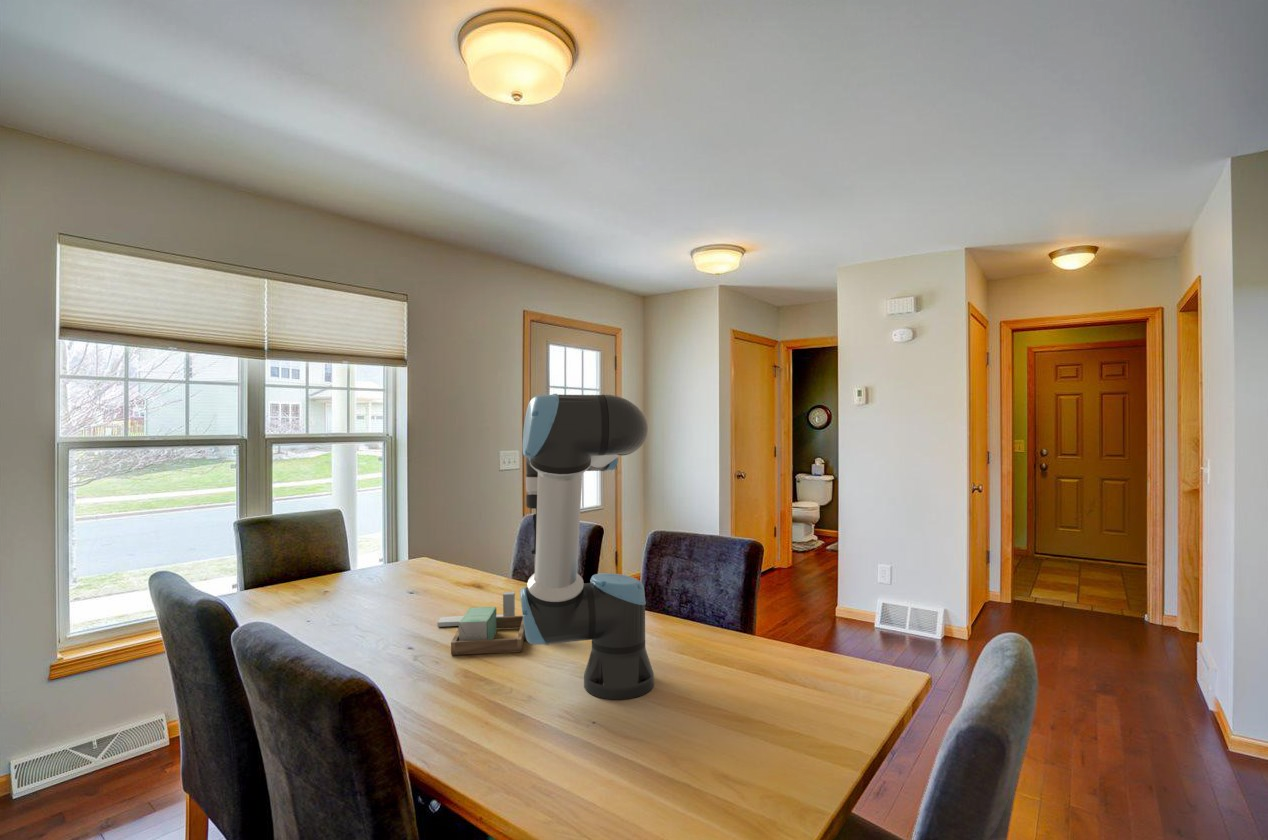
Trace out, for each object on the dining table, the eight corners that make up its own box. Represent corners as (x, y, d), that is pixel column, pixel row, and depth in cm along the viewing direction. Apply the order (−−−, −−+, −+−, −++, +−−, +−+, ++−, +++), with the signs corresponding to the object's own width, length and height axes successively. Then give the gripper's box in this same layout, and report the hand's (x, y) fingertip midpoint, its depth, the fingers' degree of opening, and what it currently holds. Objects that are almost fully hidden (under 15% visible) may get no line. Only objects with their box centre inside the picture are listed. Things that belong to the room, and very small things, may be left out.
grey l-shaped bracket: (513, 623, 172) (513, 595, 172) (437, 626, 170) (437, 598, 170) (515, 617, 177) (515, 590, 177) (441, 621, 175) (441, 593, 175)
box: (497, 632, 166) (496, 605, 166) (488, 651, 152) (487, 621, 152) (470, 633, 165) (469, 606, 165) (458, 652, 152) (457, 622, 152)
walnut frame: (546, 650, 151) (546, 605, 151) (451, 654, 149) (450, 609, 149) (549, 625, 170) (549, 585, 170) (464, 629, 168) (464, 589, 168)
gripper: (553, 497, 149) (554, 584, 148) (556, 488, 174) (556, 562, 173) (522, 497, 148) (523, 585, 147) (529, 488, 173) (530, 563, 172)
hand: (541, 573), depth 160 cm, fingers open, 13 cm apart
